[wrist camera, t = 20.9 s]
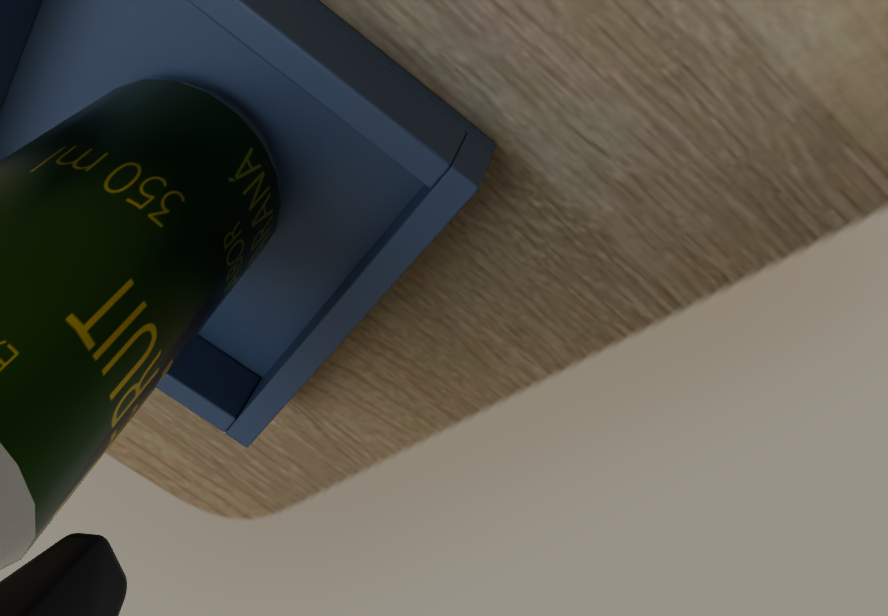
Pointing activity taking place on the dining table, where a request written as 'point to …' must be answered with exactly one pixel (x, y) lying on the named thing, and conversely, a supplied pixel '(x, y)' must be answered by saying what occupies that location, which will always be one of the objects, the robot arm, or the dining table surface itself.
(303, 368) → the tray
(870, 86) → the dining table surface
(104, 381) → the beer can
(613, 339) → the dining table surface
